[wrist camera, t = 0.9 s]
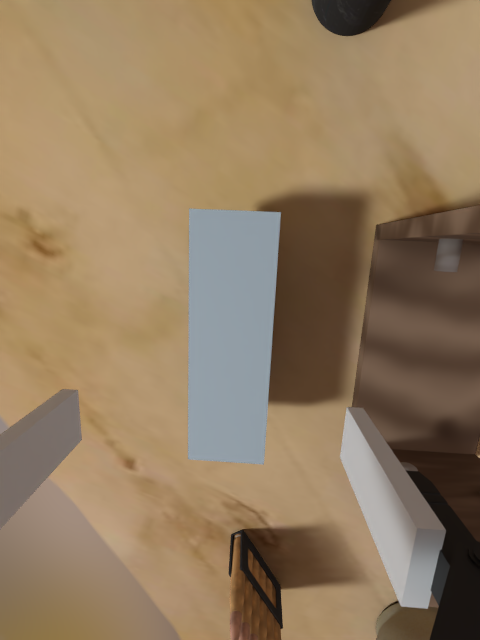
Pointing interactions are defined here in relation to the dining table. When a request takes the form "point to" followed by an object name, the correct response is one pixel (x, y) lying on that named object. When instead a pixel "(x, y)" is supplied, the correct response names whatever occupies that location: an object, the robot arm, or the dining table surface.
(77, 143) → the dining table surface
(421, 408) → the shelf frame
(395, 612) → the planter bowl
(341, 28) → the travel mug
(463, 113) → the dining table surface
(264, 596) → the ammunition clip
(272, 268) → the shelf board
